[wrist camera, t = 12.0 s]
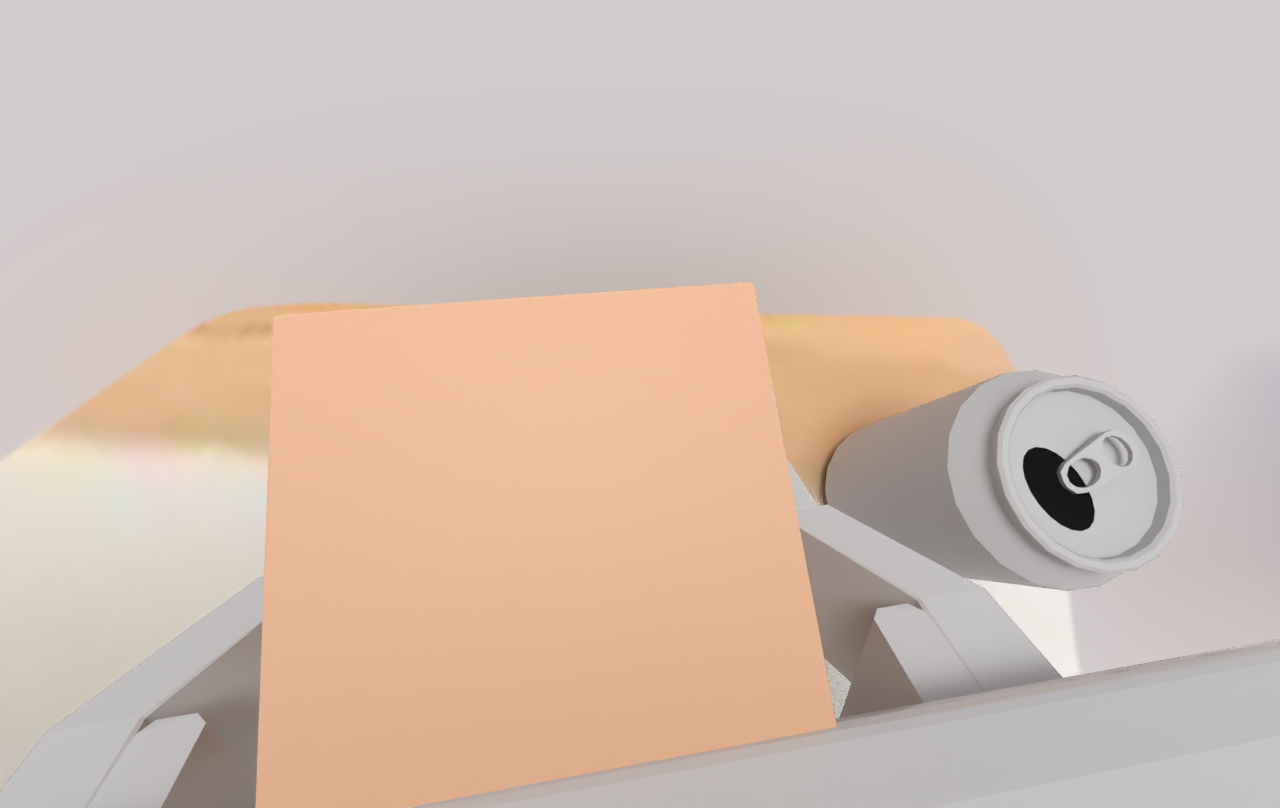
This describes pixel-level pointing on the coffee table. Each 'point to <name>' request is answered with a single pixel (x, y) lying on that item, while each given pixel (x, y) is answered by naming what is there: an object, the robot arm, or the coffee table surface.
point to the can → (1017, 481)
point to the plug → (526, 546)
